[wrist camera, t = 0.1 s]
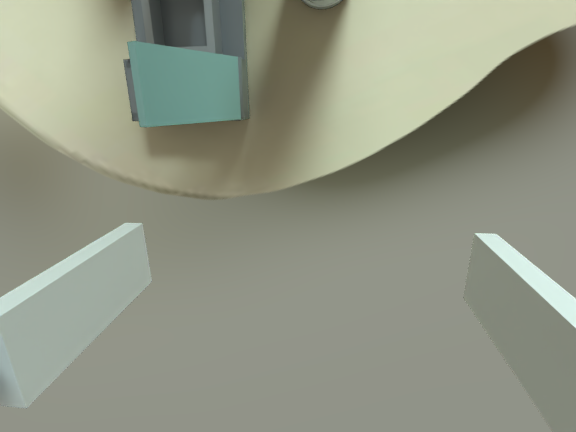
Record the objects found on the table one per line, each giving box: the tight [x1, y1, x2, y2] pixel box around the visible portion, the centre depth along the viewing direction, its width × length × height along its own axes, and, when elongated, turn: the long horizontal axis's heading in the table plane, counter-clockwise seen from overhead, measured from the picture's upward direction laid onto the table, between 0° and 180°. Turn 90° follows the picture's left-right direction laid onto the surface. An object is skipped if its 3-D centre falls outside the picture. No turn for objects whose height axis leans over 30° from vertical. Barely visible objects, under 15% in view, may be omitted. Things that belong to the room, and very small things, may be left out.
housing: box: [123, 0, 250, 121], centre depth 35 cm, size 20×12×4 cm, turn 1°
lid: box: [127, 41, 245, 127], centre depth 30 cm, size 6×12×1 cm
